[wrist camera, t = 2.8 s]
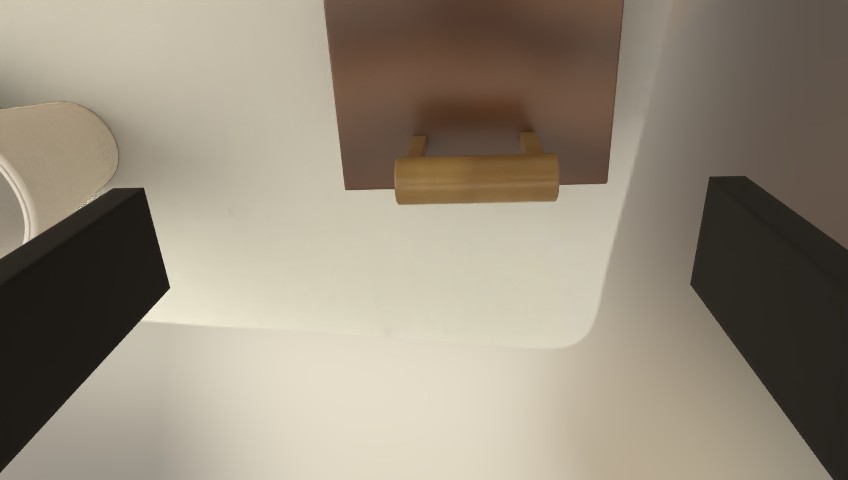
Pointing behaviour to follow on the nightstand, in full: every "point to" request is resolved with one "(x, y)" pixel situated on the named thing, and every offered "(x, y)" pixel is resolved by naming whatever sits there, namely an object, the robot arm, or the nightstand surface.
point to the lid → (474, 96)
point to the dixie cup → (49, 167)
